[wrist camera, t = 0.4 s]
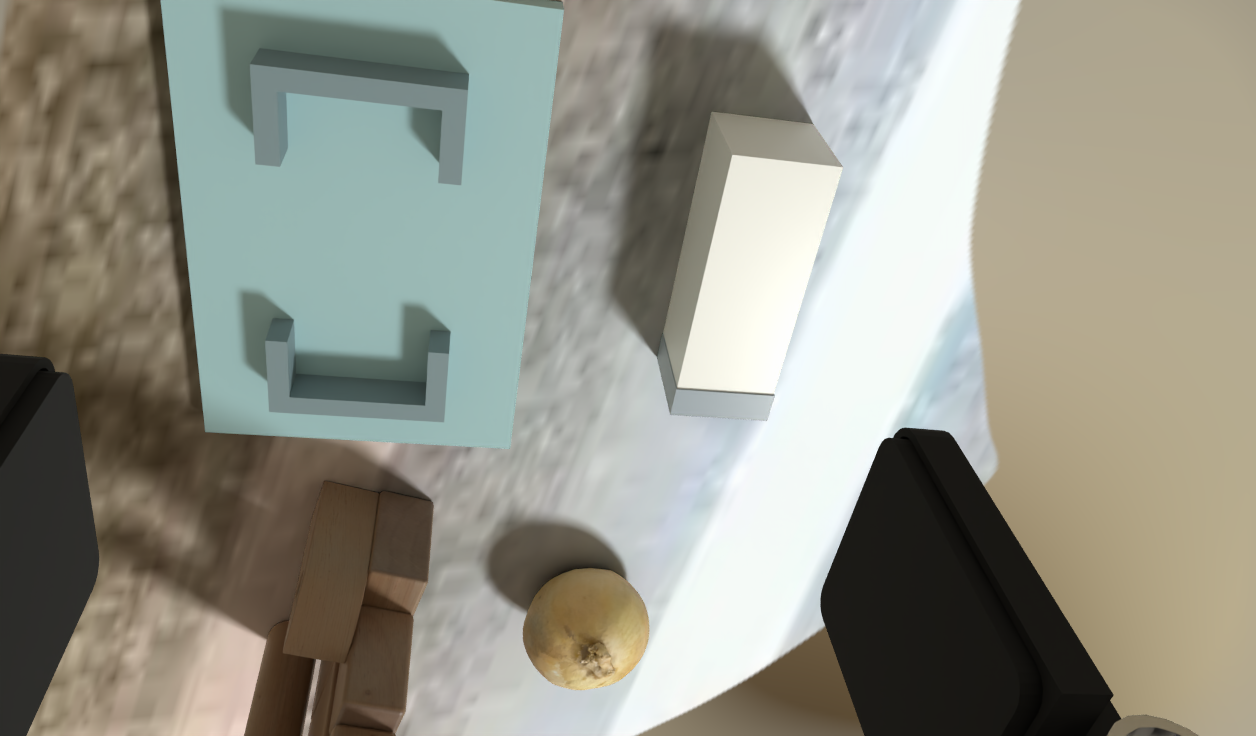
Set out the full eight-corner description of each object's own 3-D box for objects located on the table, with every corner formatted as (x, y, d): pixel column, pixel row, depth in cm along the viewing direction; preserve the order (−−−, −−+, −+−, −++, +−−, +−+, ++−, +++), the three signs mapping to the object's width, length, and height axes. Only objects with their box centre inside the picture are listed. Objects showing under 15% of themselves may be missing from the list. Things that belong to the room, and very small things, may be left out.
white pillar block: (710, 111, 46) (731, 155, 42) (814, 123, 47) (844, 168, 43) (657, 357, 54) (670, 414, 49) (746, 363, 55) (767, 420, 50)
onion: (663, 606, 66) (679, 697, 60) (557, 648, 67) (563, 740, 61) (611, 533, 61) (623, 623, 55) (499, 579, 62) (499, 672, 57)
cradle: (164, -53, 39) (140, -34, 37) (562, 1, 42) (566, 24, 40) (210, 417, 53) (195, 457, 50) (509, 435, 56) (510, 472, 53)
